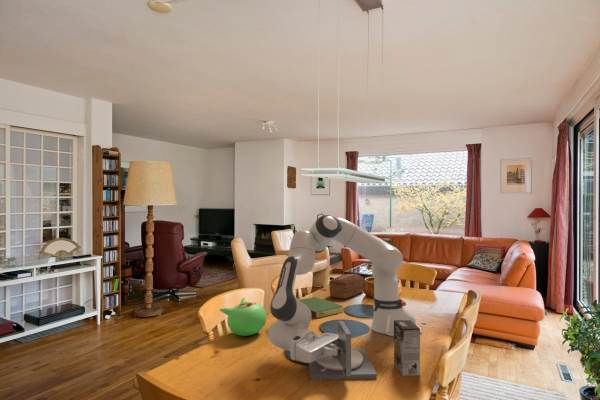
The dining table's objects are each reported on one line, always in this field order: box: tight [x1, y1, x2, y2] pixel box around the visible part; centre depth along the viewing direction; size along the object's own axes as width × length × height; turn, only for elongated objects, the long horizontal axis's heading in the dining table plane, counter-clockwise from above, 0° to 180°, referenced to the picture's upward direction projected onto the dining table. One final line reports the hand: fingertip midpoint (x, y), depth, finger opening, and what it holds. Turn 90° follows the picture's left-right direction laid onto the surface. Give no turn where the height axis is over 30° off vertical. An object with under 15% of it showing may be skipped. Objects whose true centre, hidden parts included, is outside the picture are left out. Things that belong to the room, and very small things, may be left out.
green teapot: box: [219, 297, 267, 337], centre depth 167 cm, size 18×17×15 cm
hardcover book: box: [299, 296, 344, 319], centre depth 205 cm, size 25×19×4 cm
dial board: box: [307, 347, 377, 381], centre depth 135 cm, size 22×22×2 cm
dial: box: [316, 320, 363, 376], centre depth 132 cm, size 24×17×15 cm
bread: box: [328, 273, 365, 300], centre depth 239 cm, size 14×28×12 cm, turn 143°
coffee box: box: [393, 320, 421, 377], centre depth 131 cm, size 9×6×16 cm
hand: (339, 352), depth 124 cm, fingers closed
